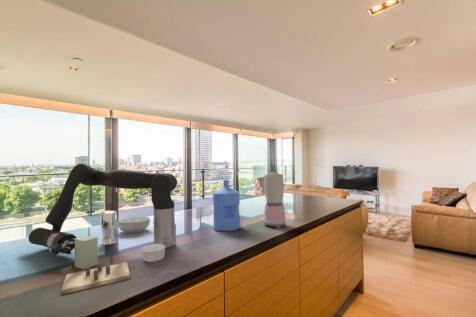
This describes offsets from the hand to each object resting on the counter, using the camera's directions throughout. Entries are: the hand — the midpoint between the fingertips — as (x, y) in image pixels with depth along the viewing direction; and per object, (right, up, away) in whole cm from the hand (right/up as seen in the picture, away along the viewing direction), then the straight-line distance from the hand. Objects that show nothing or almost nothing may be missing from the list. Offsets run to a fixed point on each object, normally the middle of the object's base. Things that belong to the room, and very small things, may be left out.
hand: (82, 247), depth 89 cm
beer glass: (-3, -7, +24) cm, 25 cm away
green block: (+2, -6, -2) cm, 7 cm away
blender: (+80, -6, +51) cm, 96 cm away
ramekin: (+26, -6, +4) cm, 27 cm away
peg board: (+13, -5, -13) cm, 19 cm away
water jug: (+53, -7, +47) cm, 71 cm away
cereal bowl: (0, -8, +44) cm, 45 cm away
